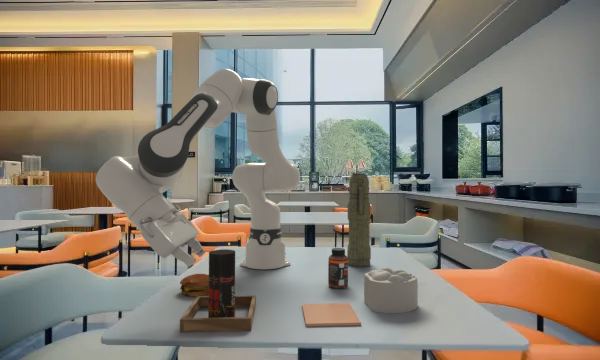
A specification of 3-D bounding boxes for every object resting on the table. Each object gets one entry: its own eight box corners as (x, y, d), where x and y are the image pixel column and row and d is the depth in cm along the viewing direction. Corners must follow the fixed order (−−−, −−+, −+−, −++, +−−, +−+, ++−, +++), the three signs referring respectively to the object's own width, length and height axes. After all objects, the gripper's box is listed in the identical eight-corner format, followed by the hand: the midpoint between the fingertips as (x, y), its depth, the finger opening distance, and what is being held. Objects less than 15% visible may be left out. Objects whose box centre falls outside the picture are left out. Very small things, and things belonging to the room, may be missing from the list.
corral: (197, 306, 83) (197, 296, 83) (255, 305, 84) (255, 295, 84) (179, 332, 68) (179, 319, 68) (250, 330, 69) (251, 318, 69)
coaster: (302, 306, 83) (302, 303, 83) (349, 305, 84) (349, 303, 84) (306, 326, 71) (306, 323, 71) (361, 325, 72) (361, 322, 72)
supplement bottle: (347, 290, 96) (347, 251, 97) (327, 288, 98) (327, 250, 98) (348, 284, 102) (348, 247, 102) (329, 282, 103) (329, 246, 104)
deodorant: (210, 312, 79) (211, 249, 79) (236, 312, 79) (236, 249, 79) (205, 323, 73) (206, 254, 73) (233, 322, 73) (233, 254, 74)
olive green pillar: (351, 268, 121) (351, 173, 122) (344, 261, 133) (344, 174, 134) (375, 268, 122) (375, 173, 123) (365, 260, 134) (365, 174, 135)
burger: (216, 286, 100) (216, 270, 100) (215, 296, 91) (215, 279, 91) (182, 288, 98) (182, 272, 98) (177, 299, 89) (177, 281, 89)
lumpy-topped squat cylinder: (361, 298, 89) (361, 266, 89) (408, 297, 90) (408, 265, 90) (372, 313, 79) (372, 276, 79) (425, 312, 80) (425, 276, 80)
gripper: (147, 210, 65) (197, 259, 66) (178, 204, 86) (216, 241, 86) (123, 232, 65) (173, 282, 65) (161, 221, 85) (199, 259, 86)
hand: (198, 259), depth 76 cm, fingers open, 8 cm apart
